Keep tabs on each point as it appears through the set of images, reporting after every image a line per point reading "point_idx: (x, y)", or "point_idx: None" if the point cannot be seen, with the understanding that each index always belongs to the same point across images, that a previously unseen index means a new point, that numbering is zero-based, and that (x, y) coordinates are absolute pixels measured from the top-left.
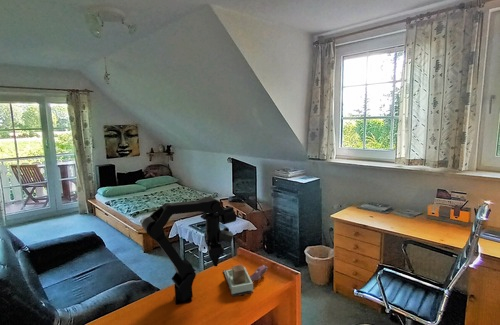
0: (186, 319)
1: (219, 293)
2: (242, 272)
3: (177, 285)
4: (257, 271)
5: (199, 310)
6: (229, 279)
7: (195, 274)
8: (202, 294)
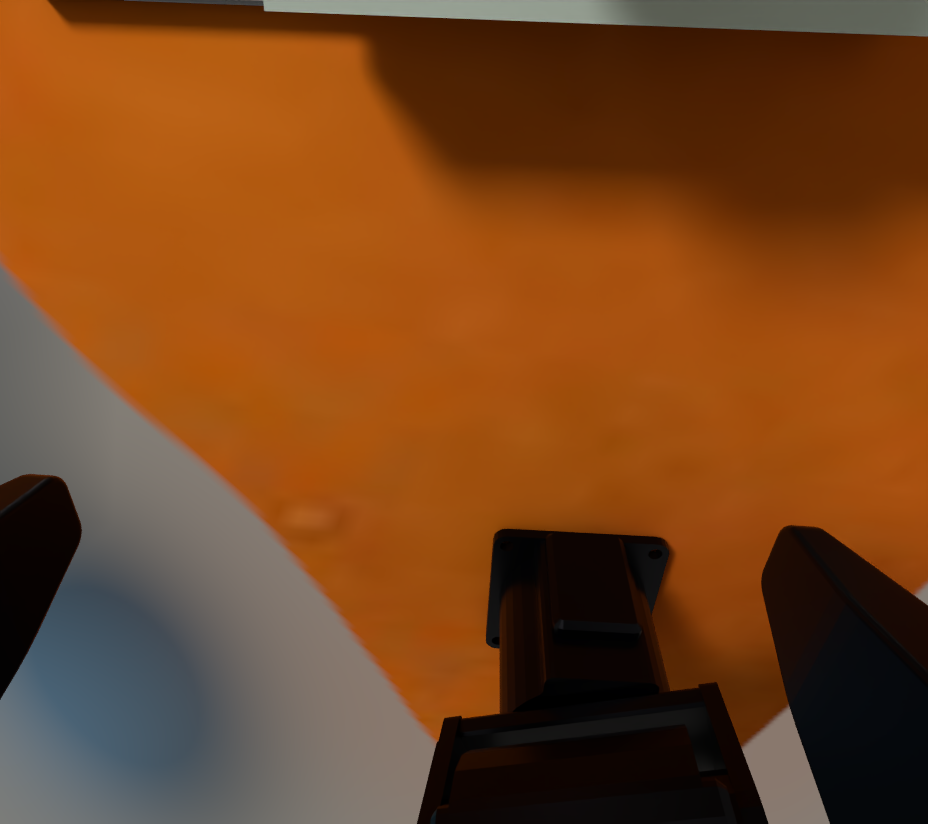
0: None
1: (677, 221)
2: None
3: None
4: None
5: (854, 493)
6: (696, 15)
7: (734, 816)
8: (585, 426)
